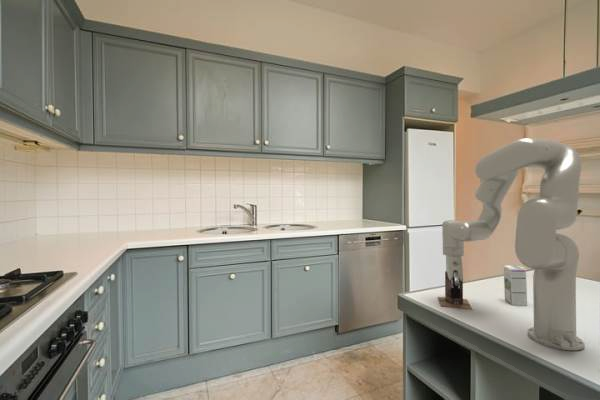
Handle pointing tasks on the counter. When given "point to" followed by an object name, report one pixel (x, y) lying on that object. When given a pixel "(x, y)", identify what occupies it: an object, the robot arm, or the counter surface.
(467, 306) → the brown board
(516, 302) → the syrup box
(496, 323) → the counter surface
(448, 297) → the box
